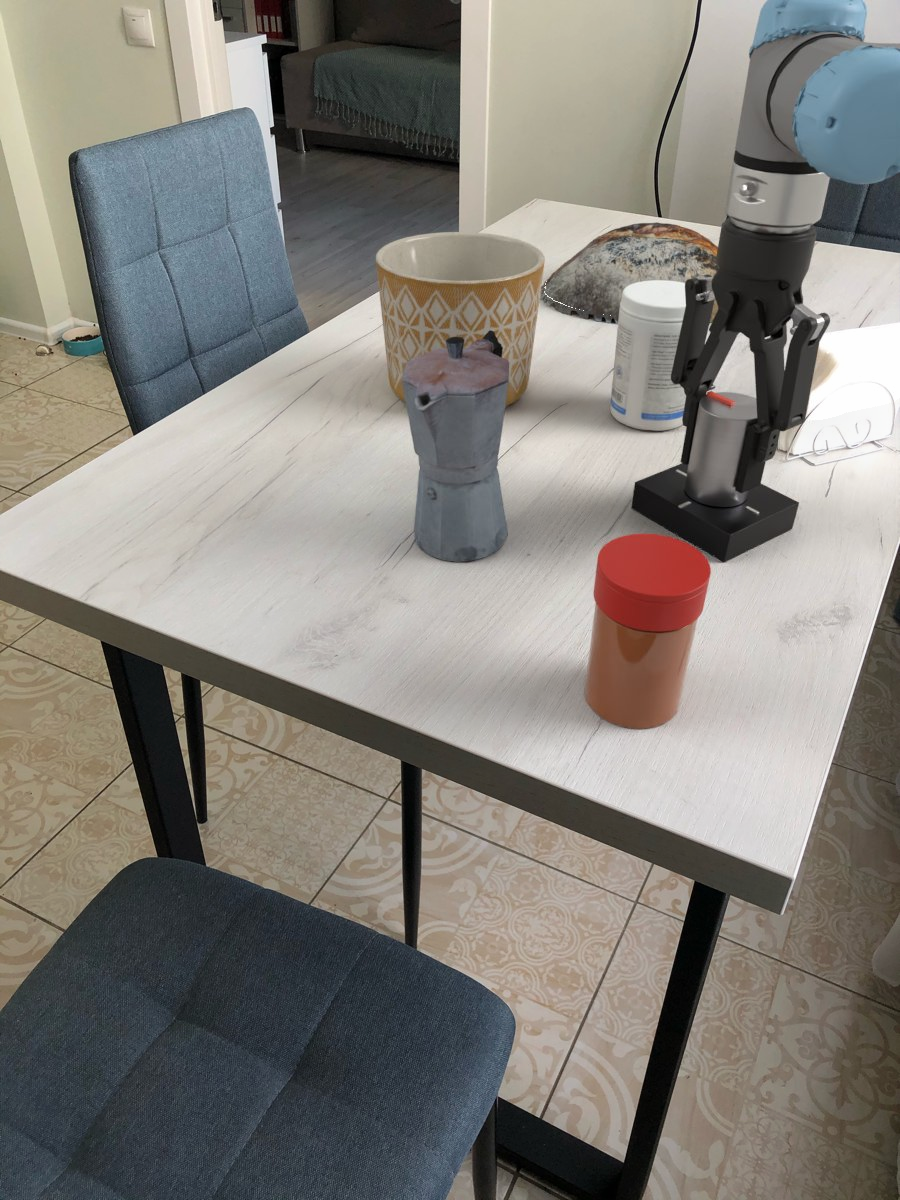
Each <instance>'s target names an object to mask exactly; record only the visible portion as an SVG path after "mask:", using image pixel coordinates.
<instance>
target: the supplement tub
mask: <svg viewBox="0 0 900 1200" xmlns="http://www.w3.org/2000/svg"><path fill="white" fill-rule="evenodd" d="M685 307H686V299H685V283H682V282H676V281H666V280H651V281H642V282H637V283H633V284H631V285H629V286H627V287H626V288H624V290H623V293H622V300H621V302H620V309H619V319H618V324H617V328H616V329H617V330H616V341H615V349H614V351H615V352H614V359H613V360H614V362H613V372H612V383H611V394H610V402H609V403H610V405H609V409H610V413H611V415H612V417H613V418H614V419H615V420H616V421H618V422H619V423H621V424H623V425H624V426H627V427H629V428H633V429H636V430H642V431H655V432H660V431H661V432H662V431H670V430H674V429H676V428H677V429H678V428H679V427H682V426H683V422H682V418H683V412H684V406H685V400H686V395H685V393H684V389H683V387H681V386H680V385H679V384H674V383H673V382H672V381H671V373H672V368H673V363H674V359H675V354H676V349H677V345H678V340H679V335H680V331H681V326H682V321H683V317H684V312H685Z"/></svg>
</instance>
